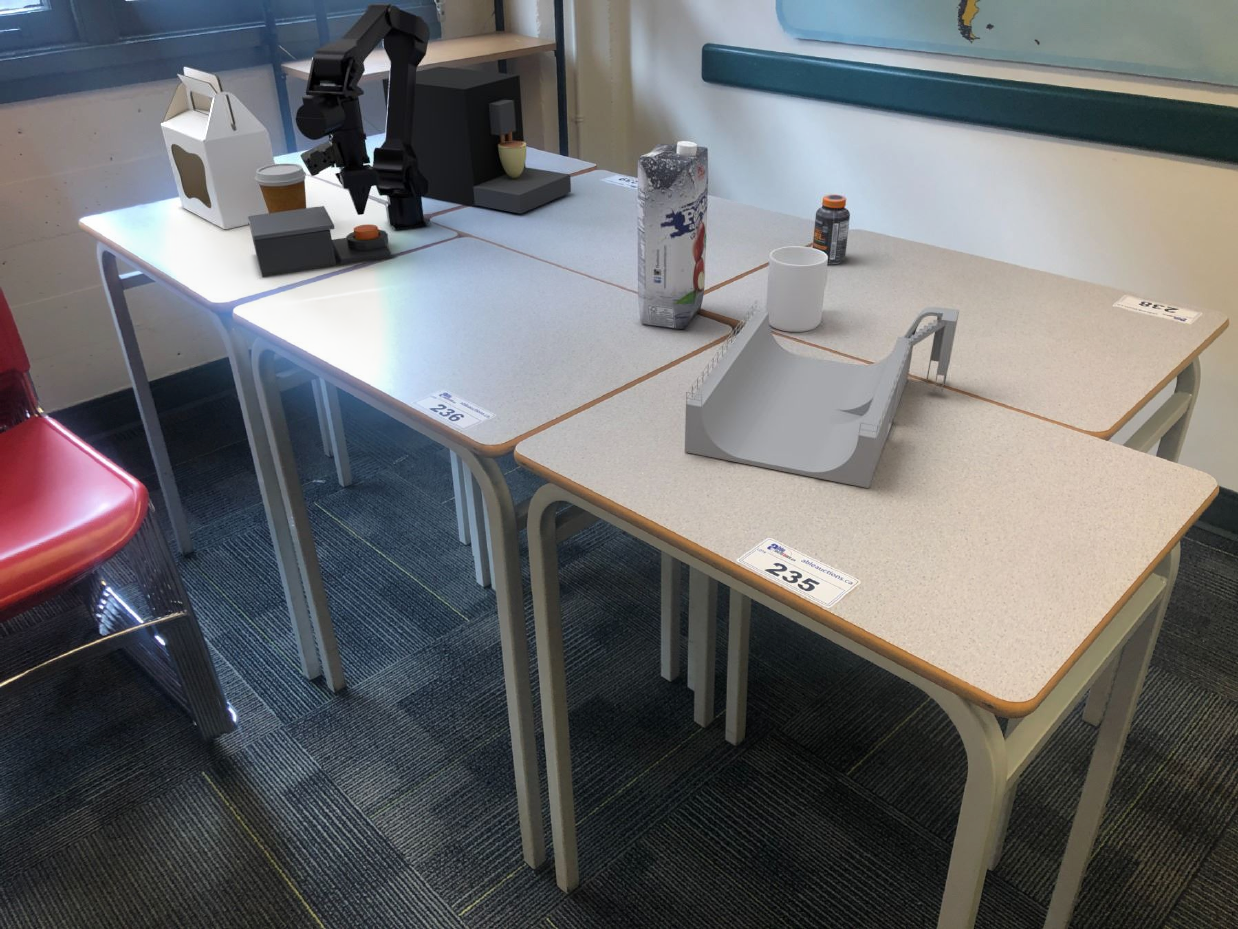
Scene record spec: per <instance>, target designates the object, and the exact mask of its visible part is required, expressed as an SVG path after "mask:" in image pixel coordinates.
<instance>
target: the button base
mask: <svg viewBox="0 0 1238 929" xmlns="http://www.w3.org/2000/svg"><path fill="white" fill-rule="evenodd" d="M378 232H379V237H377V238H374V239H367V240H358V239H355V235H354V231H353V232H350V233H349V234H347V235H346V237H341V238H334V239H333V238H332V243H333V249H334V253H335V254H336V256H337V258H338V261H339V262H340V264H341V266H346V265H353V264H360V263H366V262H372V261H374V262H375V261H381V260H388V259H392V254H391V251H390V249H389V248H388V244H390V243H389V242H390V241H389V236H388V233H387V232H386V230H382V229H379V228H378Z"/></svg>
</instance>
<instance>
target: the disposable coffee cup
mask: <svg viewBox="0 0 1238 929" xmlns="http://www.w3.org/2000/svg"><path fill="white" fill-rule="evenodd" d="M306 176H307V172H306V171H304V168H303V166H302V165H301V164H297V163H275V164H274V165H268V166H264V167H261V168H259V169H258V170H257V171H256V177H255V179H256V181H257V183H258V184H259V185H260V188H261V191H262V194H263V197H264V200H265V203H266V206H267V209H268V212H269V213H275V212H283V211H290V210H298V209H305V208H307V196H306Z"/></svg>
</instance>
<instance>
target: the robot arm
mask: <svg viewBox="0 0 1238 929" xmlns="http://www.w3.org/2000/svg"><path fill="white" fill-rule="evenodd" d="M365 10H366V11H365V12H364V14H363V15H361V17H360V18H359V19H358V20H357V21H356V22H355V23H354V24H353V25H352V26H351V28H350V29H349V30H348V31H347V32H346V33H345V34H344V35H343V36H342V37H341V38H340V39H339V40H337V41H333V42H329V43H327V44H325V45H323V46H321V47H319V48H318V49H317V50H315V52H314V54H313V56H312V59H311V63H310V69H309V73H308V79H307V83H306V89H305V95H304V96H302V97H301V98H302V100H301V101H302V105H300V106H299V108H298V109H297V111H296V114H295V123H296V126H297V128H298V131H299V132H300V133H301V134H302V135H303V136H304V137H305V138H306V139H308V140H312V141H317V140H321V139H323V138H325V137H327V139H328V140H327V141H324V142H323V143H319V144H318V145H316V146H314V147H311V148H310V149H308V150H306V151H304V152H302V153H301V154H300V159H301V160H302V162H303V164H304V166H305V167H306V170H308V172H309V174H310V176H311V177H314V176H317V175H319V174H320V173H321V172H323V171H325V170H326V169H328V168H331V169H332V168H333V169H334V168H336V169H337V168H338V171H339V172H336V173H334V175H335V176H336V178H337V179H338V182H339V184H340V185H341V186H342V188H343V189H344V190H345V189H346V190H348V193H349V197H350V198H351V202H352V204H353V206H354V209H355V211H356V212H355V213H356V215H358V216H360V215H364V214H365V211H366V207H367V203H368V200H369V196H370V193H371V190H372V187H376V190H377V192H378V195H379V196H381V197H382V196H385V197H386V199H387V201H385V203H384V205H385V212H386V219H387V223H388V224H389V226H391V227H392V229H393V230H394V231H402V230H403V231H404V230H411V229H418V228H425V227H427V226H428V223H427V222H426V221H425V217H424V216H425V215H424V208H423V199H422V198H424V197H423V196H426V193H428V181H427V180H426V178H425V177H424V176H423V175H422V174H421V172H420V171H419V170H418V159H417V157H416V155H415V153H414V151H413V148H412V146H411V137H412V123H413V109H414V96H415V82H416V72H417V69H418V66H419V65H420V64H421V62H422V61H423V59H424V58H425V56H426V55H427V51H428V46H429V41H430V36H431V30H430V27H429V24H428V23H427V22H426V21H425V20H424V18H422V16H420V15H415V14H414V13H411V12H408V11H406V10H402V9H400V8H399V7H397V6H396V5H394V4H392V3H372V4H369V5H367V7H366V9H365ZM381 42H382V47H383V50H384V53H385V55H386V56H387V58H388V61H389V77H388V78H389V91H388V105H387V111H386V120H385V121H386V122H385V136H384V137H385V138H384V141H383V142H382V144H381V146H380V147H375V148H374V150H373V151H372V152H373V153H372V154H373V158H372V159H373V162H372V165H370V164H371V158H370V156H369V155H368V150H367V143H366V140H368V138H367V133H366V132H365V130H364V124H363V116H362V112H361V104H360V99H359V97H360V96H362V95H364V94H365V91H364V90H363V89H362V88H361V87H360V86H359V85H358V83H360V80H361V78H362V77H363V75H364V73H365V71H366V68H365V64H364V63H365V61H366V60H367V58H368V57H369V55H370V54H371V53H372V52H373V51H374V50H375V49H376V47H378V45H379V44H380V43H381Z"/></svg>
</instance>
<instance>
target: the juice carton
mask: <svg viewBox="0 0 1238 929" xmlns="http://www.w3.org/2000/svg"><path fill="white" fill-rule="evenodd" d="M636 185H637V186H636V188H637V192H636V193H637V194H636V197H637V200H636V201H637V204H636V205H637V206H636V207H637V303H638V312H639V317H640V322H641V324H643V325H648V326H655V327H663V328H669V329H675V330H684V329H685V328H686V327H688V325H689V324H690V322H691V321H692V320H693V318H694V317H695V316H696V315H697V314H698V313H699V312H700V310H701V308H702V305H703V300H704V296H705V284H706V256H707V229H708V198H709V149H708V147H706V146H698V143H696V142H692V141H689V140H680V141H677V144H673V143H672V144H669V143H658V144H656V146H655V147H654V148H653V149H652V150H651V151H650V152H648V153H645V154H642V155H640V156H639V157H638V159H637V184H636Z"/></svg>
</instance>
